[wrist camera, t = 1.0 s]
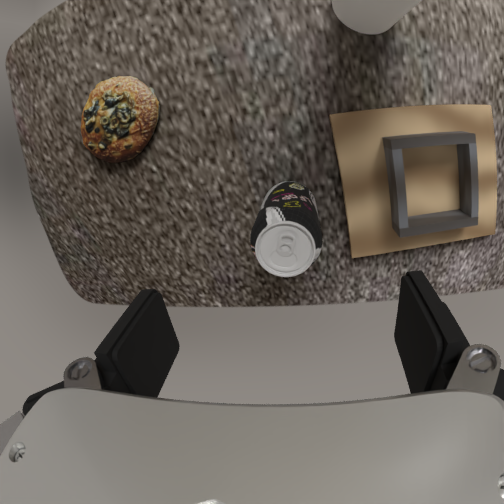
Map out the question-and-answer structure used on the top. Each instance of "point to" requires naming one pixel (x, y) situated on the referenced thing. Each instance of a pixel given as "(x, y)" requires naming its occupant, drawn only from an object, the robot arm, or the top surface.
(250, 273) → the top surface
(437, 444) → the robot arm
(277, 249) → the beverage can
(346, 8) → the cylindrical container
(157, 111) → the bread roll
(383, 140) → the board
